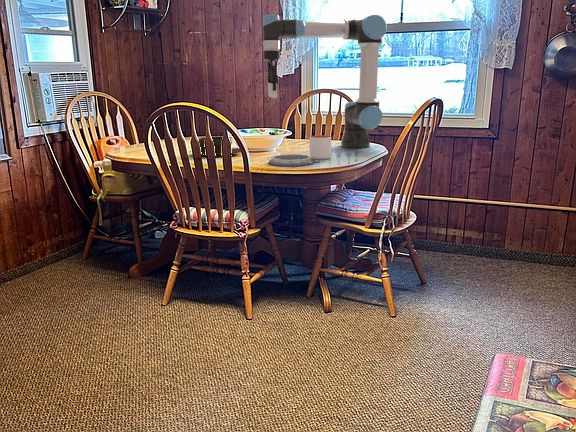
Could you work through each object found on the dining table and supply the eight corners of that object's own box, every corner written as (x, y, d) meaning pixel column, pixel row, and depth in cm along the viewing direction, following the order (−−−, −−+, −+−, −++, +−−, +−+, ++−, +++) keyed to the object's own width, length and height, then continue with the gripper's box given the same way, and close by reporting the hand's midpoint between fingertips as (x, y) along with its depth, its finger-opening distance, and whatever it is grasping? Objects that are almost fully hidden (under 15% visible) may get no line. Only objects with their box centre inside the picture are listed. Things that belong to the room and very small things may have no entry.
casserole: (243, 152, 276) (242, 135, 274) (238, 158, 258) (237, 140, 256) (194, 152, 277) (193, 136, 275) (185, 158, 259) (184, 140, 257)
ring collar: (306, 158, 254) (306, 152, 253) (320, 165, 235) (320, 159, 235) (264, 160, 249) (264, 155, 248) (274, 167, 230) (274, 161, 230)
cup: (329, 160, 248) (329, 138, 245) (307, 159, 250) (307, 137, 247) (332, 156, 257) (332, 135, 255) (311, 156, 259) (311, 135, 257)
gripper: (261, 51, 265) (262, 96, 270) (266, 49, 241) (267, 98, 246) (276, 51, 266) (277, 96, 271) (283, 49, 242) (284, 98, 247)
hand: (272, 97), depth 259 cm, fingers open, 13 cm apart
